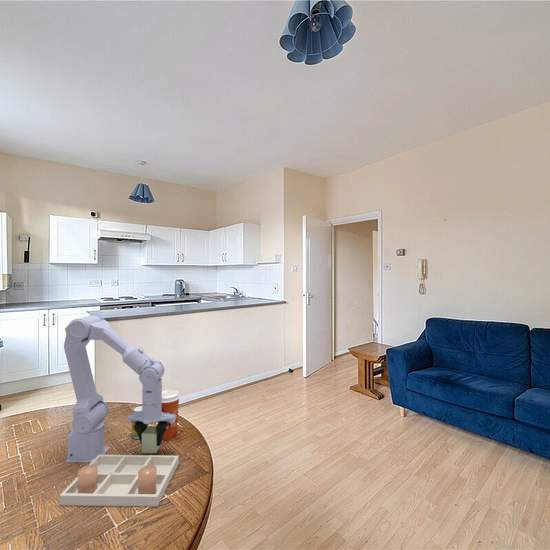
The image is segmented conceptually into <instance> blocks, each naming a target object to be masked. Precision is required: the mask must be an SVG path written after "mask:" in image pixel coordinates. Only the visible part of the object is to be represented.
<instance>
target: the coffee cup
mask: <svg viewBox="0 0 550 550" xmlns="http://www.w3.org/2000/svg"><path fill="white" fill-rule="evenodd" d="M180 397H181V395H180V392H179V391H178V390H177V389H176V390H175V389H166V390H162V412H164V413H168V414H176V421H175V422H174V423H170V422H168V424H167V427H166V429H165V431H164V435H163V438H162V441H170V440H172V439H174V438H175V437H176V436H177V433H178V421H179V420H178V417H179V403H180ZM158 424H159V422H157V425H158Z"/></svg>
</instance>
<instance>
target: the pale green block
mask: <svg viewBox="0 0 550 550" xmlns="http://www.w3.org/2000/svg"><path fill="white" fill-rule="evenodd" d="M156 426H157V425H155V426H153V425H152V426H150V425H148V427H147V428H146V429H145V430H144V432H143V433H142V446H141V454H156V453H157V452H158V451H159V449H160V447H161V446H162V444H161V445H160V446H157V431H156Z"/></svg>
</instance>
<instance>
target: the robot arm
mask: <svg viewBox="0 0 550 550" xmlns="http://www.w3.org/2000/svg"><path fill="white" fill-rule="evenodd" d="M64 331H65V338H64V342H63V343H64V344H63V350H64V353H65V357H66V362H67V365H68V369H69V370H68V371H69V374H70V378H71V382H72V386H73V390H74V394H75V398H76V403H75V405H74V408H73V409H72V416H73V418H72V422H71V424H72V429H71V431H70V432H69V435H68V436H67V447H66V448H67V459H66V460H65V462H66V463H67V462H68V463H91V462H92V461H93V460H94V459H95V458H96V457H97V456H98V455H105V454H106V452H107V451H108V450H109V449H110V448H111V446H107V445H105V418H106V417H107V416H108V414H109V406H108V404H107V403H106V402H105V400H104V398H103V395H100V394H99V393H98V392H97V388H96V384H95V378H94V375H93V372H92V368H91V364H90V359H89V354H88V351H87V345H88V344H89V343H90V342H91V341H103V343H106V344H107V345H108V346H110V348H112V349H113V350H115V352H117V353H118V354H119V355H121V357H122V362H123V363H124V364H125V365H127V366H128V367H129V369H131V370H132V371H134V373H136V374H137V375H138V380H139V382H140V383H141V384H142V391H141V392H142V395H141V397H142V399H141V401H142V402H141V403H142V404H141V406H142V413H136V414H134V413H129V415H128V416H127V423H130V424H132V422H135V425H134V429H135V431H136V432H137V434H138V436H139V441H140V446H141V447H142V433H143V432H144V430H145V429H146V428H147V424H148V425H150V424H151V423H157V425H155V426H156V431H157V446H160V445H161V446H162V443H163V440H162V438H163V435H164V431H165V429H166V427H167V424H168V422H170V423H174V422H175V421H176V414H168V413H164V412H162V391H163V386H162V384H163V382H162V381H163V380H162V379H163V378H162V377H163V375H164V374H165V367H164V364H163V363H162V362H161V361H159V360H155V359H154V358H151V357H150V356H148V355H147V354H146V353H145V352H144V351H145V350H144V349H143V348H141V347H140V348H139V347H137V346H131V345H130V344H129V343H128V342H127V341H125V339H124V338H122V336H120V335H119V333H118V332H116V330H114V328H112V327H111V325H110V323H109V322H108V321H107V320H106V319H104V318H103V317H102V316H101V315H99V314H91V315H88V316H84V317H80V318H75V319H72V320H71V321H70V322H69V323H68V325H66V327H65V328H64ZM158 422H159V424H158ZM161 446H160V447H161Z"/></svg>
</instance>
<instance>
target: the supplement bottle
mask: <svg viewBox="0 0 550 550" xmlns="http://www.w3.org/2000/svg"><path fill="white" fill-rule="evenodd" d="M136 413H142V405H141V406H140V405H139V406H136V407H134V408H133V414H136ZM134 425H135V422H131V437H132V438H133V439H135V440H138V439H139V436H138V434H137V432H136V431H135V429H134ZM148 426H149V424H147V427H148ZM139 440H140V439H139Z"/></svg>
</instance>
